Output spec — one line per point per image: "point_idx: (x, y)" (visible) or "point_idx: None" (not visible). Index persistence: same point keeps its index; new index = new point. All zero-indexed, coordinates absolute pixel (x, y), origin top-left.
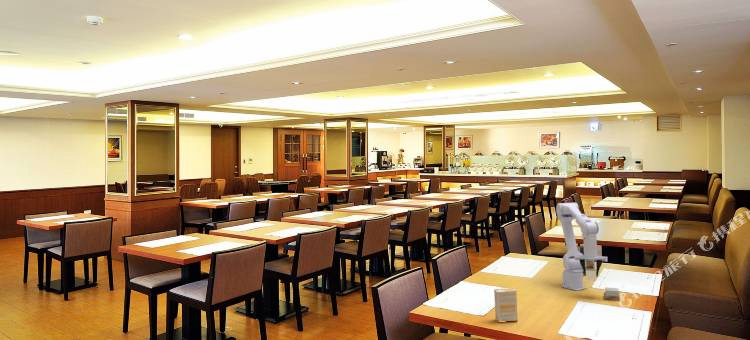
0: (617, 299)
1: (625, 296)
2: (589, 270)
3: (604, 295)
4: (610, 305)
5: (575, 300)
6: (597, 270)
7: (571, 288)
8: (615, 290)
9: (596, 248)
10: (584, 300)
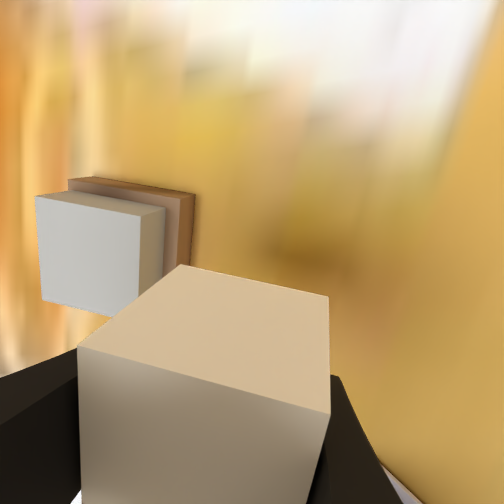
0: (98, 180)
1: None
2: (228, 405)
3: (176, 214)
4: (166, 29)
5: (449, 157)
6: (46, 376)
7: (389, 479)
8: (60, 221)
9: None
10: (360, 168)
